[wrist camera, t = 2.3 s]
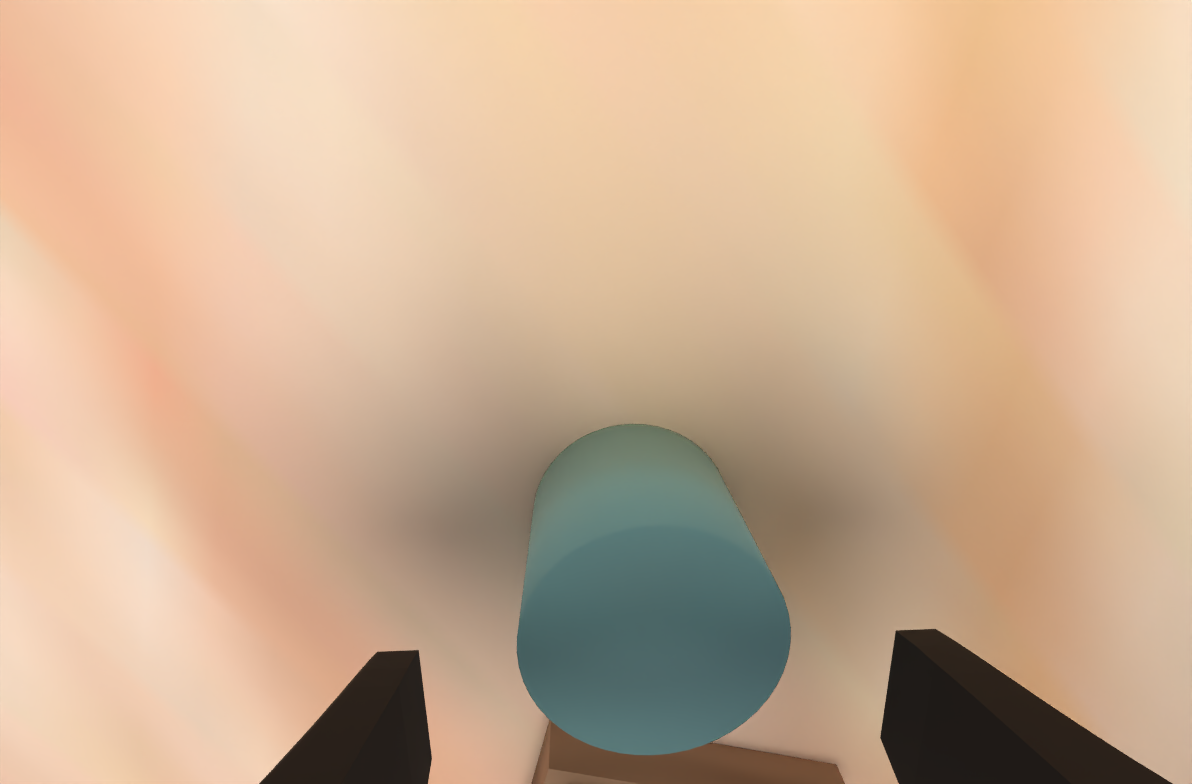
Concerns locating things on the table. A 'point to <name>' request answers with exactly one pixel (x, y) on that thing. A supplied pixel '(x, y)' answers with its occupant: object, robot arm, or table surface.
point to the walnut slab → (672, 765)
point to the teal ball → (646, 597)
